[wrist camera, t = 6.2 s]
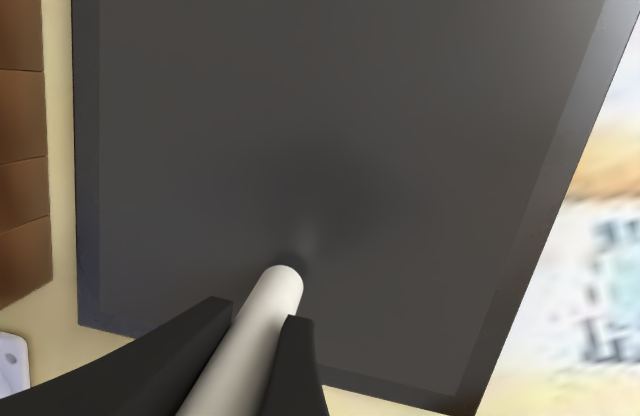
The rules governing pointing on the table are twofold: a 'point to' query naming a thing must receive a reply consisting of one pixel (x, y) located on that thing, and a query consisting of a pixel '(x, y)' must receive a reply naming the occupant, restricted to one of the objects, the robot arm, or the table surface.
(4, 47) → the pen holder
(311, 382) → the robot arm
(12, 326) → the table surface
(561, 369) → the table surface
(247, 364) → the white rounded rod
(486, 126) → the tablet
